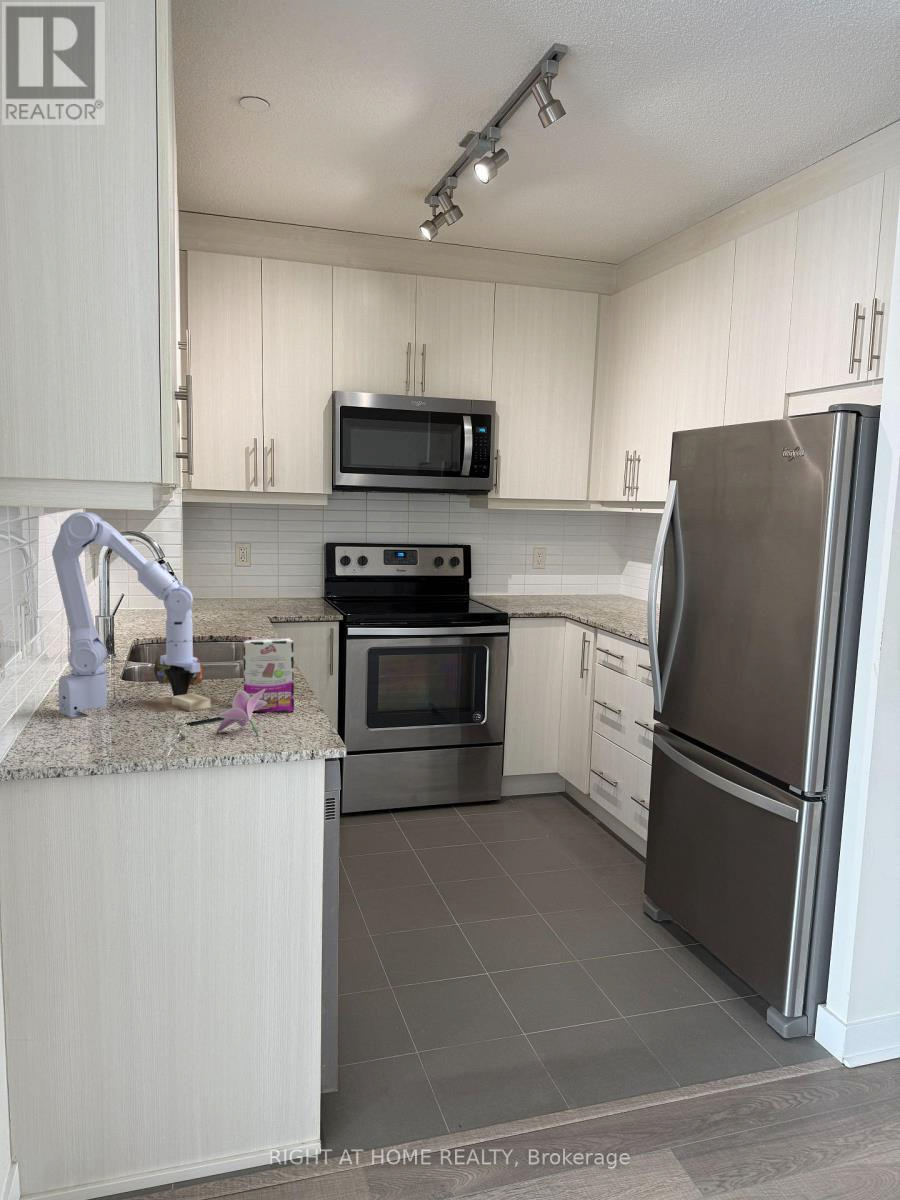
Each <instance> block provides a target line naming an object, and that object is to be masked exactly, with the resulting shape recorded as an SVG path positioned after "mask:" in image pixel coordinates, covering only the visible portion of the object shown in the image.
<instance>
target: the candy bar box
mask: <svg viewBox="0 0 900 1200" xmlns="http://www.w3.org/2000/svg"><path fill="white" fill-rule="evenodd" d="M242 641H243V642H242V655H243V657H242V660H243V662H242V663H243V665H242V667H243V669H242V670H243V690H244V691H245V692H246V693H247V694H248V695H249V696H250V698H251V697H252V696H253V695H255V694H256V693H258V692H260V691H261V690H263V689H265V691H264V693H263V694H262V695H261V697H260V698H259V700H263V701H266V702H267V704H266V705H265V706H263V707H262V709H257V710H255V711H253V712H252V713H258V714H268V713H267V712H278V713H292V712H291V711H293V712H294V711H295V685H294V683H295V680H294V679H295V678H294V675H295V674H294V670H295V669H294V667H295V666H294V663H295V662H294V639H292V638H291V637H290V638H288V637H287V638H259V639H255V638H254V639H243V640H242Z"/></svg>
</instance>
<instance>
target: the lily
mask: <svg viewBox="0 0 900 1200" xmlns="http://www.w3.org/2000/svg"><path fill="white" fill-rule="evenodd" d="M264 691H265V689H263V690H261V691H260V692H258V693H256V694H255V695H253V696H252V697H251V698H250V696H249V695H248V694H247V693H246V692H245V691H244V689H241V688H240V689H239V690H237V692H236V693H235V695H234V697H233V700H232V704H231V705H232V707H231V708H229V709H227V710H225V711H223V712H222V713H220V714H219V715H218V716H217V717H220V718H225V719H224V720H223V721H222V722H220V724H219V726H218V728H217V729H216V732H219V731H220V732H221V731H222V732H223V730H224V729H226V728H228V727H229V726H231V725H233V724H234V723H237V724H238V726H240V727H241V728H243V726H246V727H247V725H248V722H249V723H250V724H251V726H252V728H253V731H254V732H255V735H256V736H257V735H258V736H259V734H258V731H257V730H256V727H255V725H254V723H253V722H252V719H251V717H252V715H253V714H252V712H253V711H256V710H260V708H264V707H263V706H265V705H266V704H267V702H266V701H263V700H259V698H260V697H261V695H262V694H263V693H264ZM220 732H219V733H220Z"/></svg>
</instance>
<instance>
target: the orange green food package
mask: <svg viewBox="0 0 900 1200" xmlns="http://www.w3.org/2000/svg"><path fill="white" fill-rule="evenodd" d="M163 655H166V653H164V654H160V655H159V656H158V657H157V659H156V661H155V662H154V667H153V668H154V669H153V670H154V672H153V673H154V676H155V677H154V678H155V679H156V681H157V682H158V683H159V684H166V683H167V684H168V683H170V682H169V679H168V677H167V676H166V674H165V672H164V670H165V669H170V668H171V666H170V665H166V664H160V656H163ZM193 657H195V658H197V661H196V662H197V663H200V672H195V674H194V675H193V677H192V679H191V682H190V684H189V685H193V686H194V685H199V684H201V683H202V681H203V678H204V666H203V663H202V661H201V660H200V659H199V658H198V657H197V656H194V655H193Z"/></svg>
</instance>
